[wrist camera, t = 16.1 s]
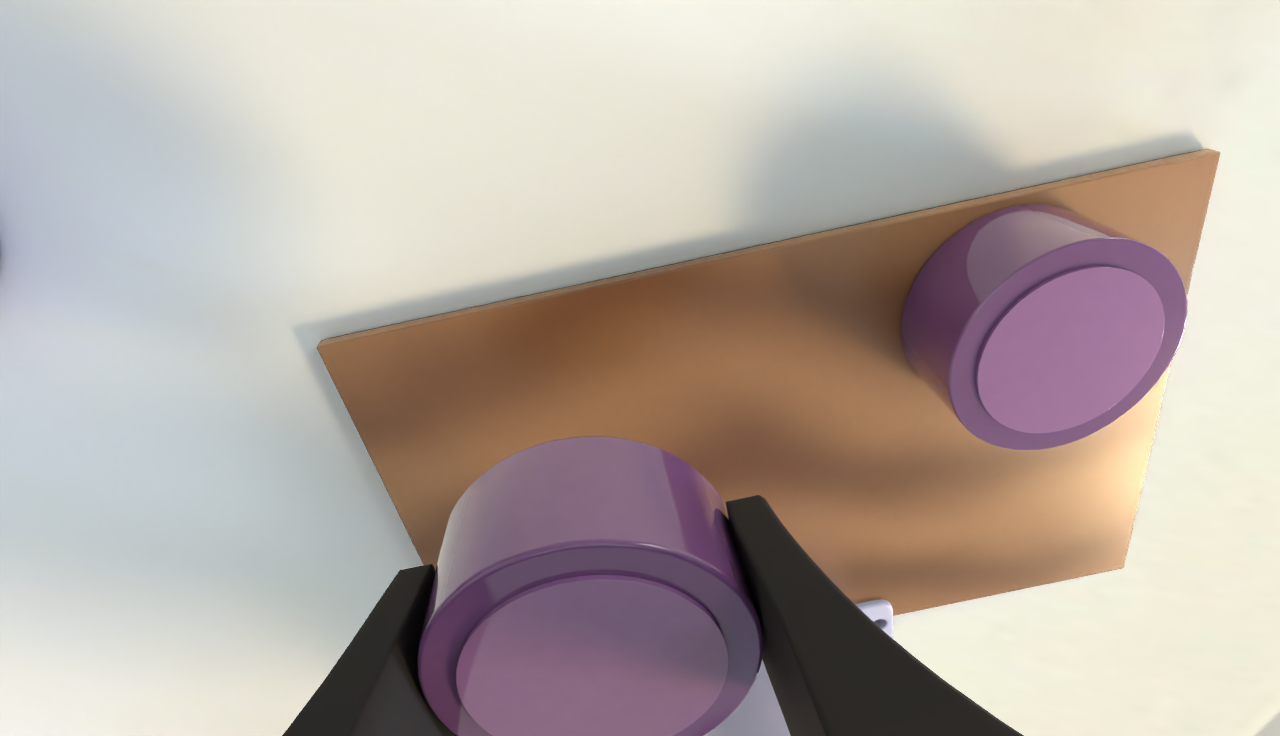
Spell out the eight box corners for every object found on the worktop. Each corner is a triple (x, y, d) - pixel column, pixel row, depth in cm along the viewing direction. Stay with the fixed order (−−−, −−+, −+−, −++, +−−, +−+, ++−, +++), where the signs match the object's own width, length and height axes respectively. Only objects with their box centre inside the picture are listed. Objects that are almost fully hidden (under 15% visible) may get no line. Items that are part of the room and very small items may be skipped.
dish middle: (746, 617, 14) (781, 742, 12) (493, 670, 14) (478, 805, 12) (709, 404, 11) (746, 511, 9) (399, 470, 12) (355, 594, 9)
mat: (1116, 559, 23) (1124, 568, 23) (490, 689, 24) (489, 699, 23) (1207, 147, 16) (1222, 151, 16) (320, 339, 17) (315, 346, 16)
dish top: (1091, 373, 19) (1166, 428, 16) (900, 413, 19) (947, 473, 17) (1123, 181, 16) (1217, 214, 14) (900, 229, 16) (955, 270, 14)
